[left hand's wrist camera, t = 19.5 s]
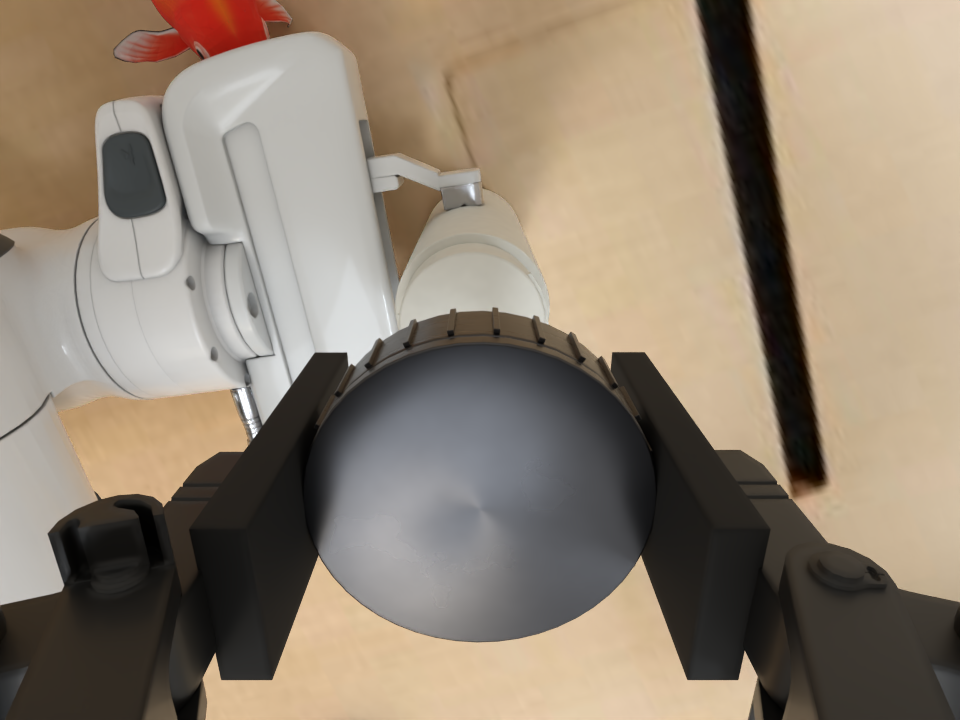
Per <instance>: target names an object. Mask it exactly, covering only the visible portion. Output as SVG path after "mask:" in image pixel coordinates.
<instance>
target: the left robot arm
mask: <svg viewBox="0 0 960 720" xmlns="http://www.w3.org/2000/svg"><path fill="white" fill-rule="evenodd" d="M347 369H348V355H347V352H315V353H314V354H313V356H312V357H311V359H310V360H309V361H308V363H307V364H306V366H305V367H304V368H303V370H302V371H301V373H300V374H299V375H298V377H297V378H296V380H295V381H294V382H293V384H292V385H291V387H290V388H289V389H288V391H287V392H286V394H285V395H284V396H283V398H282V399H281V401H280V402H279V403H278V405H277V406H276V408H275V409H274V410H273V412H272V413H271V415H270V416H269V417H268V419H267V420H266V422H265V423H264V424H263V426H262V427H261V429H260V430H259V431H258V433H257V434H256V436H255V437H254V438H253V440H252V441H251V443H250V444H249V445H248V447H247V448H246V450H245V451H244V452H219V453H217V454H216V455H214V456H213V457H211V458H210V459H208V460H206V461H205V462H203V463H202V464H200V465H199V466H197V467H196V468H195V470H194V471H193V472H192V473H191V474H190V476H189V477H188V478H187V479H186V481H185V482H184V483H183V487H180V488H179V489H178V490H177V491H176V493H175V494H174V495H173V496H172V500H171V501H168V502H167V504H166V505H165V506H164V507H163V506H162V503H160V502H159V501H158V500H156V499H155V498H154V497H151V496H145V495H140V494H131V495H117V496H113V497H109V498H105V499H101V500H97V501H95V502H92V503H90V504H87V505H85V506H83V507H80V508H78V509H76V510H74V511H73V512H71V513H70V514H68V515H67V516H65V517H64V518H62V519H61V520H59V521H58V522H57V523H56V524H55V525H54V527H53V528H52V529H51V530H50V531H49V532H48V533H47V534H48V537H49V540H50V543H51V546H52V549H53V552H54V556H55V559H56V562H57V565H58V568H59V571H60V574H61V577H62V580H63V583H64V587H63V589H62V591H61V592H57V593H54V594H50V595H45V596H40V597H36V598H31V599H26V600H22V601H17V602H12V603H8V604H3V605H0V720H205V718H206V708H207V699H206V692H205V687H204V683H203V676H204V674H205V672H206V670H207V668H208V666H209V664H210V662H211V660H212V658H213V656H214V654H215V653H216V657H217V662H218V667H219V671H220V676H221V680H272V679H273V676H274V674H275V671H276V668H277V666H278V663H279V660H280V657H281V655H282V652H283V649H284V647H285V644H286V641H287V639H288V636H289V633H290V631H291V628H292V625H293V623H294V620H295V617H296V614H297V612H298V609H299V606H300V604H301V601H302V598H303V596H304V593H305V590H306V588H307V585H308V582H309V579H310V577H311V574H312V571H313V569H314V566H315V563H316V561H317V558H318V553H317V551H316V549H315V547H314V545H313V543H312V540H311V537H310V534H309V531H308V528H307V524H306V517H305V510H304V502H303V491H302V483H303V475H304V467H305V463H306V459H307V456H308V453H309V449H310V446H311V444H312V442H313V439H314V437H315V435H316V433H317V431H318V430H316V429H314V427H315V425H316V423H317V421H318V419H319V417H320V415H321V413H322V411H323V410H324V408H325V406H326V404H327V402H328V400H329V399H330V397H331V395H334V393H335V391H336V389H337V388H338V386H339V384H340V382H341V380H342V378H343V376H344V374H345V373H346V371H347ZM611 372H612V374H613V376H614V378H615V380H616V382H617V384H618V386H619V388H620V387H622V386H624V388H625V389H626V391H627V393H628V395H629V397H630V399H631V400H632V402H633V404H634V406H635V408H636V410H637V411H638V413H639V415H640V417H641V420H639V421H637V422H638V424H639V425H640V427H641V429H642V431H643V433H644V435H645V437H646V439H647V441H648V443H649V445H650V447H651V448H652V450H653V455H652V457H653V461H654V465H655V469H656V479H657V497H656V506H655V514H654V520H653V526H652V530H651V533H650V535H649V538H648V541H647V543H646V546H645V548H644V550H643V552H642V554H641V556H642V559H643V562H644V564H645V567H646V570H647V572H648V575H649V578H650V580H651V583H652V586H653V589H654V591H655V594H656V597H657V599H658V602H659V605H660V607H661V610H662V613H663V615H664V618H665V621H666V624H667V626H668V629H669V632H670V634H671V637H672V640H673V642H674V645H675V648H676V650H677V653H678V656H679V659H680V661H681V664H682V667H683V669H684V672H685V675H686V677H687V680H738V679H739V674H740V669H741V665H742V660H743V656H744V651H745V652H746V654H747V656H748V658H749V660H750V662H751V664H752V666H753V668H754V670H755V672H756V674H757V676H758V678H757V683H756V687H755V691H754V696H753V700H752V704H751V709H750V713H749V717H748V720H960V602H955V601H951V600H946V599H941V598H937V597H932V596H927V595H922V594H918V593H913V592H909V591H905V590H901V589H898V588H897V586H896V584H895V583H894V581H893V580H892V579H891V577H890V576H889V575H888V573H887V572H886V571H885V570H884V569H883V568H881V567H880V566H879V565H877V564H876V563H875V562H873V561H872V560H871V559H869V558H867V557H865V556H863V555H861V554H859V553H857V552H855V551H853V550H851V549H848V548H844V547H841V546H837V545H834V544H830V543H827V541H826V540H825V539H824V538H823V537H822V535H821V534H820V533H819V532H818V531H817V529H816V528H815V527H814V526H813V524H812V523H811V522H810V521H809V520H808V518H807V517H806V516H805V515H804V514H803V512H802V511H801V510H800V509H799V508H798V506H797V505H796V504H795V503H794V501H793V500H792V499H789V497H788V496H789V495H788V494H787V493H786V492H785V491H784V489H783V488H782V487H781V486H780V485H777V481H776V480H775V478H774V477H773V476H772V475H771V474H770V472H769V471H768V470H767V469H766V468H765V466H764V465H763V464H761V463H760V462H758V461H757V460H755V459H753V458H752V457H750V456H749V455H747V454H746V453H744V452H742V451H741V450H714V449H713V447H712V446H711V445H710V443H709V442H708V440H707V439H706V438H705V436H704V435H703V433H702V432H701V431H700V429H699V428H698V426H697V425H696V424H695V422H694V421H693V419H692V418H691V417H690V415H689V414H688V412H687V411H686V410H685V408H684V407H683V405H682V404H681V403H680V401H679V400H678V398H677V397H676V396H675V394H674V393H673V391H672V390H671V389H670V387H669V386H668V384H667V383H666V382H665V380H664V379H663V377H662V376H661V375H660V373H659V372H658V370H657V369H656V368H655V366H654V365H653V363H652V362H651V361H650V359H649V358H648V356H647V355H646V354H645V352H612V362H611ZM334 396H335V395H334Z"/></svg>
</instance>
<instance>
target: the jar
mask: <svg viewBox="0 0 960 720" xmlns="http://www.w3.org/2000/svg"><path fill="white" fill-rule="evenodd" d="M482 189H483V188H482ZM483 197H484V204H481V205H477V206H467V205H465V204H463V205H462V206H461V207H459V208H456V209H449V210H444V205H443V200H440V202H439V203H438V204H437V205H436V206H435V207H434V209H433V210H432V212H431V214H430V216H429V218H428V220H427V222H426V225H425V227H424V229H423V231H422V233H421V236H420V238H419V240H418V242H417V244H416V246H415V249H414V251H413V253H412V255H411V257H410V260H409V262H408V264H407V266H406V268H405V270H404V273H403V275H402V277H401V280H400V282H399V285H398V288H397V293H396V300H395V313H396V320H397V325H398V328H399V330H401V329H403V328H406V327H408V326H409V323H410V321H411V320H413V319H416V321H417V322H419V321H422V320H426V319H429V318H432V317H435V316H439V315H444V314H450V309H455V308H456V311H457V312H465V311H492V307H496V308H498V311H499V312H505V313H510V314H515V315H520V316H524V317H528V318H531V319H532V318H533V315H535V316H538V317H539V319H540V322H542V323H545V324H548V319H549V310H550V303H549V294H548V290H547V286H546V283H545V281H544V278H543V276H542V273H541V271H540V269H539V266H538V264H537V262H536V259H535V257H534V255H533V252H532V250H531V248H530V245H529V243H528V241H527V238H526V236H525V234H524V231H523V229H522V227H521V224H520V222H519V220H518V217H517V215H516V213H515V211H514V210H513V208H512V207H511V206H510V204H509V203H508V202H507V201H506V200H505V199H503V198H502V197H501V196H499V195H498V194H496V193H494V192H492V191H490V190H486V189H483Z"/></svg>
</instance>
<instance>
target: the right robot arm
mask: <svg viewBox="0 0 960 720" xmlns="http://www.w3.org/2000/svg"><path fill="white" fill-rule="evenodd" d="M95 141H96V156H97V174H98V217H95V218H93V219H90V220H88V221H86V222H84V223H82V224H80V225H78V226H76V227H74V228H70V229H65V230H54V229H48V228H41V227H18V228H11V229H4V230H0V605H3V604H8V603H12V602H17V601H22V600H26V599H31V598H36V597H40V596H45V595H50V594H54V593H57V592H61V591H62V589H63V587H64V583H63V580H62V577H61V574H60V571H59V568H58V565H57V562H56V559H55V556H54V552H53V549H52V546H51V543H50V540H49V537H48V534H47V533H48V532H49V531H50V530H51V529H52V528H53V527H54V525H55V524H56V523H57V522H58V521H59V520H61V519H62V518H64V517H65V516H67V515H68V514H70V513H71V512H73V511H74V510H76V509H78V508H80V507H83V506H85V505H87V504H90V503H92V502H95V501H97V500H101V498H100V497H99V495H98V494H97V493H96V492H95V491H94V490H93V488H92V486H91V484H90V482H89V479H88V477H87V475H86V473H85V471H84V468H83V466H82V464H81V462H80V460H79V458H78V455H77V453H76V451H75V449H74V447H73V445H72V442H71V440H70V438H69V436H68V434H67V431H66V429H65V427H64V425H63V423H62V421H61V418H60V416H59V414H58V412H61V411H66V410H71V409H75V408H79V407H81V406H84V405H86V404H88V403H91V402H93V401H95V400H97V399H101V398H105V397H120V398H126V399H132V400H153V399H159V398H167V397H175V396H182V395H190V394H198V393H206V392H214V391H221V390H229V389H230V391H231V394H232V397H233V400H234V403H235V406H236V409H237V412H238V415H239V417H240V419H241V421H242V423H243V425H244V428H245V430H246V433H247V437H248V439H247V441H248V445H249V444H250V443H251V441H252V440H253V438H254V437H255V436H256V434H257V433H258V431H259V430H260V429H261V427H262V426H263V424H264V423H265V422H266V420H267V419H268V417H269V416H270V415H271V413H272V412H273V410H274V409H275V408H276V406H277V405H278V403H279V402H280V401H281V399H282V398H283V396H284V395H285V394H286V392H287V391H288V389H289V388H290V387H291V385H292V384H293V382H294V381H295V380H296V378H297V377H298V375H299V374H300V373H301V371H302V370H303V368H304V367H305V366H306V364H307V363H308V361H309V360H310V359H311V357H312V356H313V354H314V353H315V352H347V355H348V367H349V366H350V365H351V364H353V365H354V366H356V364H357V363H358V362H359V361H360V360H361V359H362V358H363V357H364V356H365V355H366V354H367V353H368V352H369V351H370V350H371V349H372V347H373V345H374V343H375V341H376V340H377V339H379V338H381V340H382V341H383V340H385V339H386V338H388V337H389V336H391V335H393V334H394V333H396V332H397V331H399V328H398V325H397V320H396V313H395V300H396V293H397V288H398V285H399V282H400V281H399V276H398V271H397V266H396V260H395V255H394V250H393V245H392V240H391V234H390V229H389V224H388V219H387V214H386V209H385V203H384V198H383V193H382V192H383V191H390V190H396V189H398V188H399V187H400V186H401V185H402V184H403V183H404V177H405V178H407V179H410V180H413V181H415V182H418V183H420V184H423V185H425V186H428V187H430V188H433V189H435V190H438V191H441V194H442V200H443V205H444V210H449V209H456V208H459V207H461V206H462V205H463V204H465V205H467V206H477V205H481V204H484V197H483V189H482V180H481V174H480V168H469V169H462V170H455V171H448V172H440V169H437V168H435V167H432V166H430V165H428V164H425V163H423V162H421V161H418V160H416V159H413V158H411V157H409V156H406V155H404V154H402V153H394V154H387V155H380V156H375V152H374V146H373V141H372V136H371V131H370V126H369V120H368V115H367V110H366V105H365V100H364V95H363V89H362V84H361V79H360V74H359V69H358V64H357V60H356V57H355V55H354V54H353V52H352V51H350V50H349V49H348V48H347V47H345V46H344V45H343V44H342V43H341V42H339V41H338V40H336V39H335V38H333V37H332V36H330V35H328V34H325V33H322V32H315V31H310V32H302V33H295V34H289V35H285V36H280V37H276V38H271V39H267V40H263V41H260V42H256V43H252V44H248V45H245V46H242V47H238V48H235V49H232V50H229V51H226V52H223V53H220V54H217V55H215V56H212V57H209V58H207V59H204V60H202V61H199V62H197V63H195V64H193V65H191V66H189V67H188V68H186V69H185V70H183V71H182V72H180V73H179V74H178V75H177V76H176V77H175V78H174V79H173V80H172V82H171V83H170V84H169V86H168V88H167V90H166V92H165V95H164V96H161V95H146V96H136V97H128V98H123V99H119V100H115V101H111V102H108V103H105V104H103V105H102V106H101V107H100V108H99V109H98V111H97V114H96V118H95Z"/></svg>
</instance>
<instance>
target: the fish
mask: <svg viewBox="0 0 960 720" xmlns="http://www.w3.org/2000/svg"><path fill="white" fill-rule="evenodd" d="M151 1H152V2H153V4H154V5H155V7H156V9H157V10H158V11H159V13H160V14H161V16H162V17H163V18H164V19H165V20H166V21H167V22H168V23H169V24H170V25H171V26H172V27H173V28H170V29H167V30H163V31H145V30H138V31H135V32H132V33H131V34H130V35H128V36H127V37H126V38H125V39H123V40H122V41H121V42H120V43H119V44H118V45H117V46H116V47H115V48H114V56H115V58H117V59H119V60H122V61H126V62H133V63H138V62H146V61H147V62H159V61H163V60H166V59H170V58H173V57H176V56H178V55H180V54H181V53H183V52H185V51H187V50H188V49H190V48H191V49H192V50H193V51H194V52H195V53H196V54H197V55H198V56H199V57H200V58H201V59H202V60H204V59H207V58H209V57H212V56H215V55H217V54H220V53H223V52H226V51H229V50H232V49H235V48H238V47H242V46H245V45H248V44H252V43H256V42H260V41H263V40H267V39H270V34H269V29H268V27H267V24H266V23H265V22H287V23H288V26H287V27H288V28H289V26H290V24H291V22H292V20H293V19H292V18H291V16H290V15H289V14H288V12H287V11H286V10H285V9H284V7H283V6H282V5H281V4H279V3H278V2H277V1H276V0H151Z"/></svg>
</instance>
